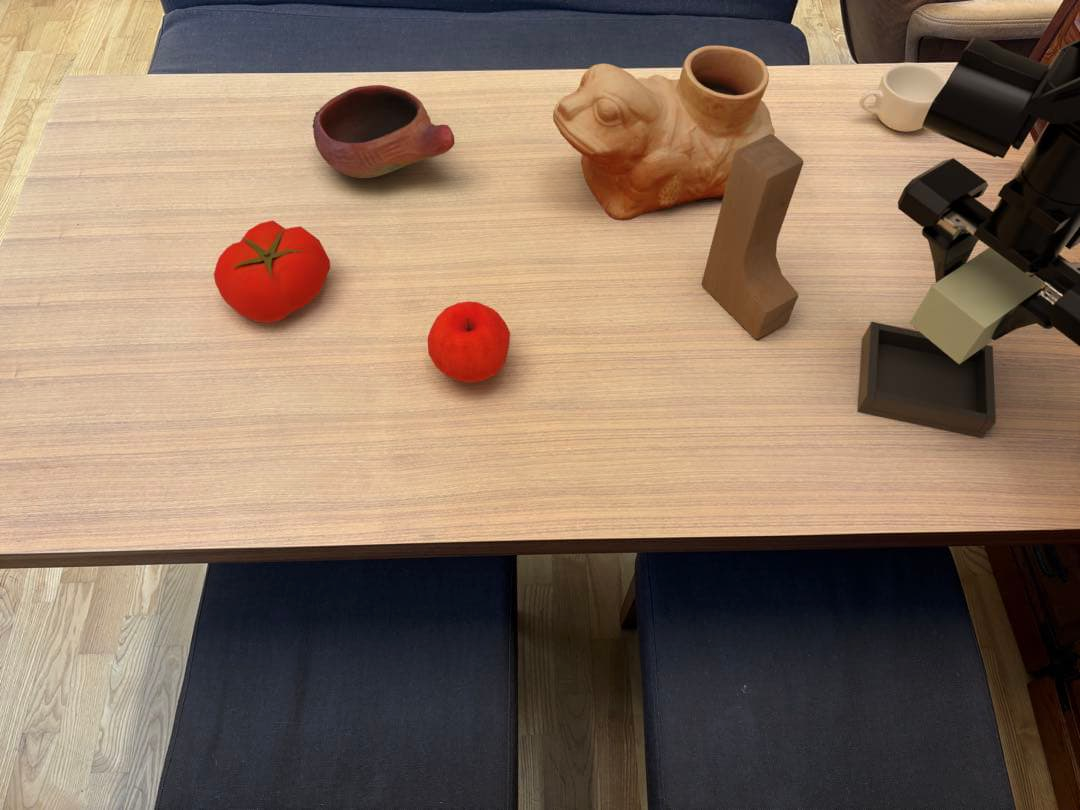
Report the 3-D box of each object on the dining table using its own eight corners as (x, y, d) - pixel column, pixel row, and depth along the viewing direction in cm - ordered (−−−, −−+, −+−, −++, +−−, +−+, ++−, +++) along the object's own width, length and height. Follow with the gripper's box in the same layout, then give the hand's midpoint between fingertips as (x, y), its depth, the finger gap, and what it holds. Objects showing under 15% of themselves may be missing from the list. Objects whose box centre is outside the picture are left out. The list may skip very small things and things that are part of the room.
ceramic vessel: (533, 158, 100) (534, 44, 88) (735, 115, 105) (763, 0, 92) (572, 240, 93) (579, 128, 80) (787, 190, 98) (825, 77, 85)
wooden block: (789, 322, 87) (843, 190, 72) (756, 341, 86) (804, 210, 71) (731, 267, 91) (771, 131, 76) (699, 285, 90) (733, 149, 75)
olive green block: (968, 283, 77) (993, 244, 73) (1018, 322, 75) (1047, 284, 70) (908, 323, 74) (931, 285, 70) (959, 364, 72) (985, 328, 68)
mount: (980, 362, 85) (993, 345, 82) (982, 438, 80) (996, 422, 77) (861, 338, 86) (871, 321, 84) (857, 411, 81) (866, 395, 79)
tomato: (209, 304, 88) (188, 261, 82) (283, 240, 93) (268, 195, 87) (279, 348, 85) (261, 306, 79) (351, 279, 90) (340, 235, 84)
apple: (519, 392, 82) (518, 346, 76) (437, 406, 81) (430, 361, 75) (503, 328, 86) (501, 280, 80) (426, 341, 85) (418, 293, 79)
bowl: (316, 201, 96) (300, 144, 89) (325, 126, 103) (311, 68, 96) (458, 197, 97) (453, 140, 90) (458, 122, 104) (453, 65, 97)
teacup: (919, 97, 107) (936, 60, 102) (941, 138, 103) (960, 100, 98) (842, 103, 106) (856, 65, 102) (862, 143, 102) (877, 106, 98)
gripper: (1248, 207, 59) (1118, 343, 72) (1025, 70, 67) (945, 214, 80) (1156, 276, 56) (1036, 406, 69) (932, 123, 64) (864, 265, 77)
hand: (968, 315), depth 74 cm, fingers closed on olive green block, 5 cm apart
